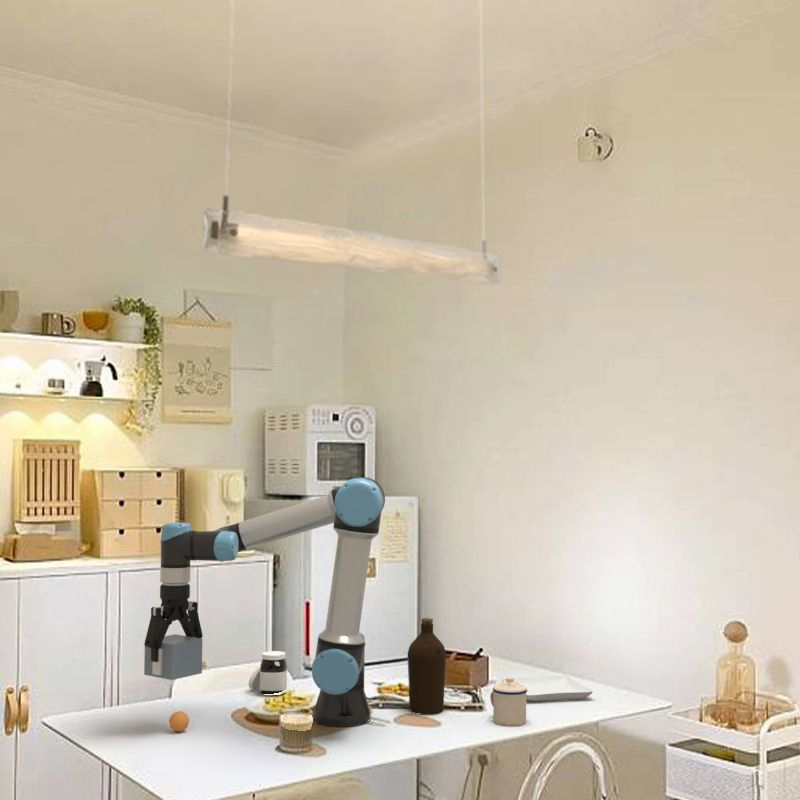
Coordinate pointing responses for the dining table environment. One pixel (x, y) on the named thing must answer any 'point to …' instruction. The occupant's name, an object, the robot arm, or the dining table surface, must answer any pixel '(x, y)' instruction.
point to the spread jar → (270, 673)
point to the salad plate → (553, 688)
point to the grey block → (177, 657)
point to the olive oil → (426, 671)
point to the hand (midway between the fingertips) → (173, 670)
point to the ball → (179, 721)
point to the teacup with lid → (509, 703)
